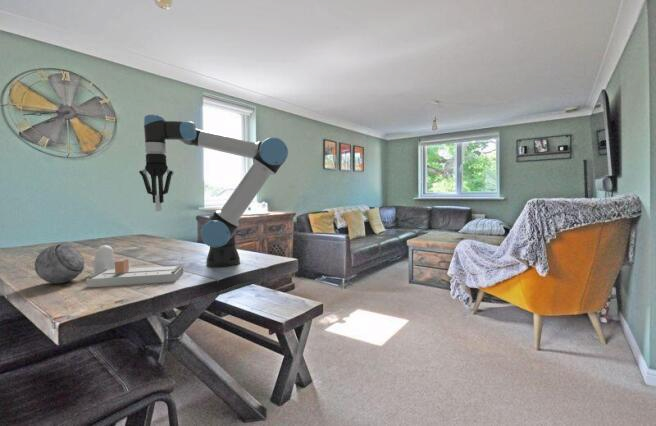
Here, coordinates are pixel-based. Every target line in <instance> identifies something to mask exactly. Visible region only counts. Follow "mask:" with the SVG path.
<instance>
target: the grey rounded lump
mask: <svg viewBox="0 0 656 426" xmlns="http://www.w3.org/2000/svg"><path fill="white" fill-rule="evenodd" d="M84 268H85V259H84V256H83V255H82V253H81V252H80V251H79V250H78V249H76V248H75V247H74V246H71V245H69V244H66V243H56V244H54V245H50V246H47V247H46V248H44V249H43V250H42V251H41V252H39V254H38V255H37V256H36V259H35V261H34V270H35V273H36V275H37V276H38V278H40V279H41V280H43V281H45V282H48V283H50V284H65V283H68V282H70V281H73V280H74V279H75V278H77V277H79V275H81V273H82V272H83V271H84Z"/></svg>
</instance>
